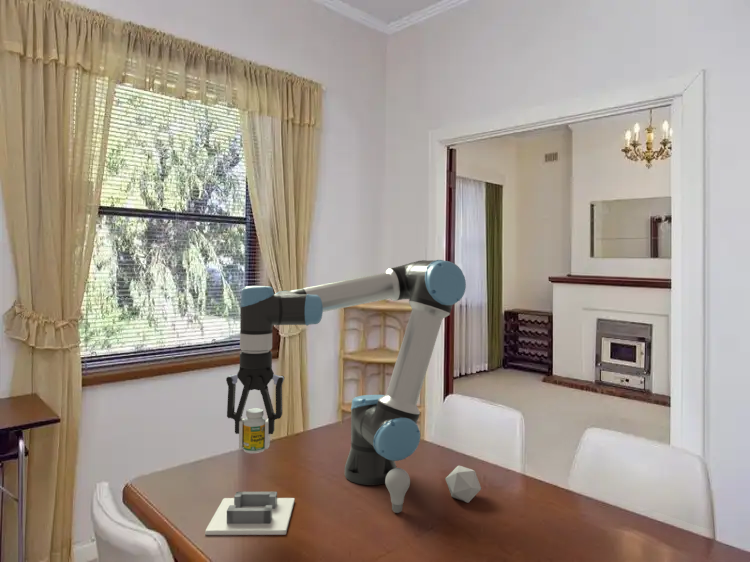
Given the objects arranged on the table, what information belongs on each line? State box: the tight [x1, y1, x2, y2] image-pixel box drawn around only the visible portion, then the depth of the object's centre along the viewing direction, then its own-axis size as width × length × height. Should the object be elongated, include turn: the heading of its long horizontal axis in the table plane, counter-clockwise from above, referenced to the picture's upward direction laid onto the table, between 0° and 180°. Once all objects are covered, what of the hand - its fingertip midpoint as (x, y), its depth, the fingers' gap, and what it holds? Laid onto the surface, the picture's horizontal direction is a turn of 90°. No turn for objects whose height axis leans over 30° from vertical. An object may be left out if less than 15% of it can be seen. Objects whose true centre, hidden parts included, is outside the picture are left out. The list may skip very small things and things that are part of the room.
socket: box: [204, 491, 295, 536], centre depth 123 cm, size 18×16×4 cm
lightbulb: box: [385, 467, 411, 514], centre depth 127 cm, size 6×6×11 cm
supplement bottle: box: [242, 407, 266, 454], centre depth 123 cm, size 5×5×10 cm
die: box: [445, 465, 482, 503], centre depth 135 cm, size 8×9×10 cm
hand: (254, 446), depth 123 cm, fingers closed on supplement bottle, 5 cm apart
